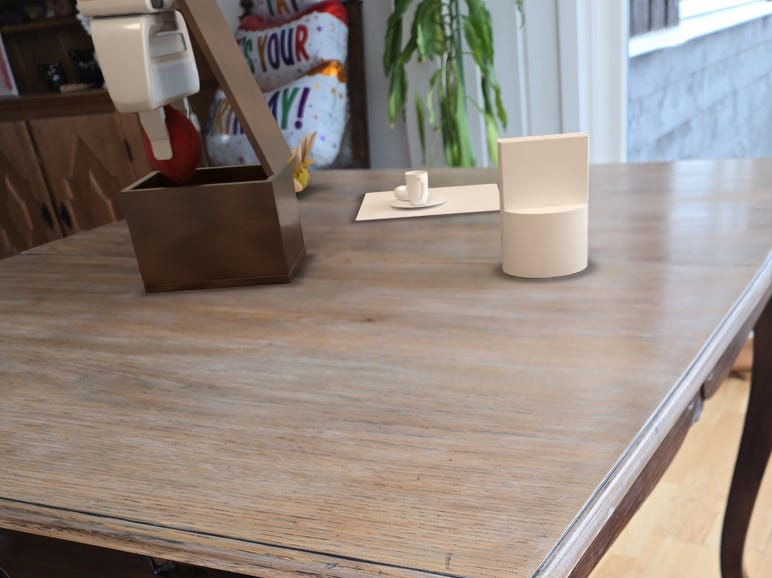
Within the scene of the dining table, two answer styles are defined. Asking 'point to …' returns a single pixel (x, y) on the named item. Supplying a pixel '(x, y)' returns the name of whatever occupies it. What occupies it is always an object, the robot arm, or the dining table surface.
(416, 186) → the teacup and saucer
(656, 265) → the dining table surface
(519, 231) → the base with upright slab
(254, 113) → the chest lid
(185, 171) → the onion
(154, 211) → the chest
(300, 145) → the decorative flower
